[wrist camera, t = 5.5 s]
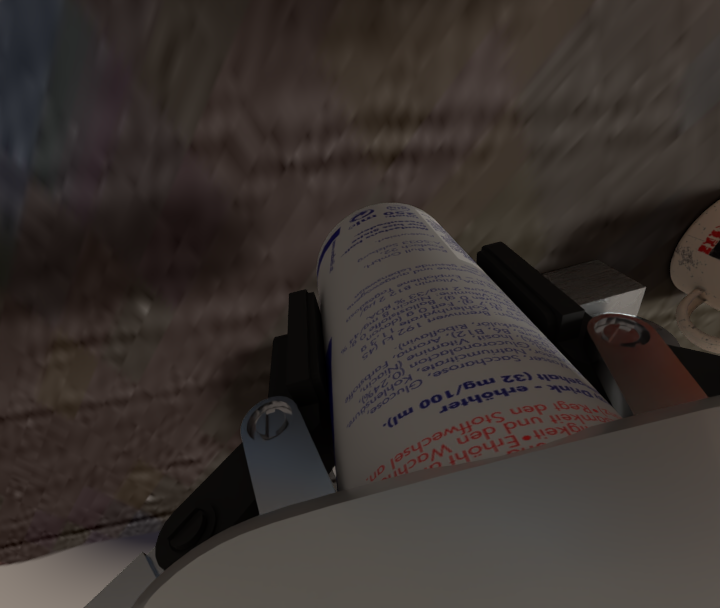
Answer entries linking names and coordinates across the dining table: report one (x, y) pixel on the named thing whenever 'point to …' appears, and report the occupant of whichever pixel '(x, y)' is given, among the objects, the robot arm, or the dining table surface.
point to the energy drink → (433, 354)
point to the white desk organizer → (603, 293)
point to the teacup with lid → (698, 274)
